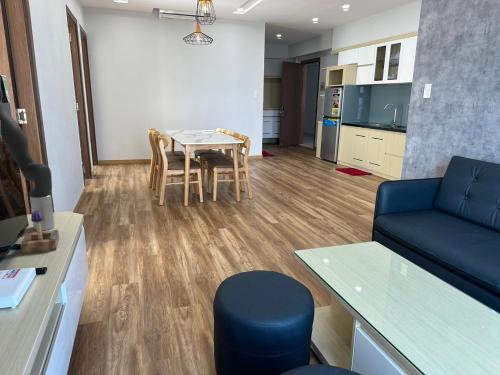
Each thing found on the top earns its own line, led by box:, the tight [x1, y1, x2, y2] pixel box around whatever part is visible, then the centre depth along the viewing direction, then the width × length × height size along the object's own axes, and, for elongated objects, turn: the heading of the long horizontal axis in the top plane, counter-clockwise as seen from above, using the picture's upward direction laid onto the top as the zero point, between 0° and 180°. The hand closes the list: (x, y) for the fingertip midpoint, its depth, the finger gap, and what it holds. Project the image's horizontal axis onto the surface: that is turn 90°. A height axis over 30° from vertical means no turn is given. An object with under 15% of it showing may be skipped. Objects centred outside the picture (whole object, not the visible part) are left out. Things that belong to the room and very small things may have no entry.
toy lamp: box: [30, 211, 43, 240], centre depth 156 cm, size 5×5×17 cm
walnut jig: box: [20, 229, 60, 255], centre depth 158 cm, size 13×13×5 cm
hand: (5, 204), depth 149 cm, fingers open, 8 cm apart
